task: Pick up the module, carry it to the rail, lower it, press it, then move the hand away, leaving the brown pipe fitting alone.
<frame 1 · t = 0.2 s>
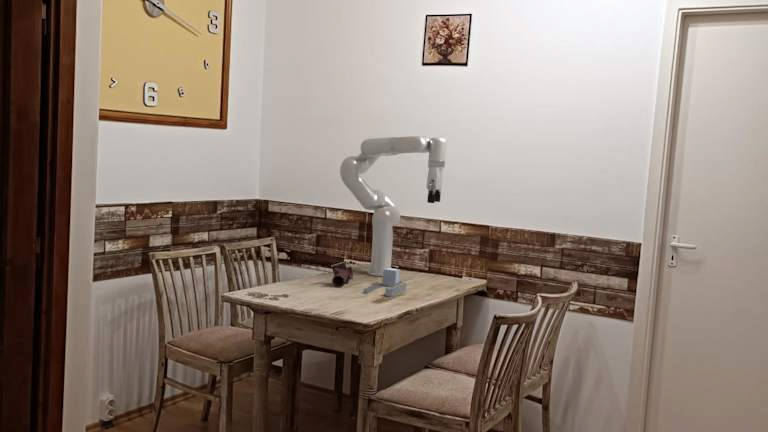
hand: (433, 202, 354), 36 cm above the table, tool pointing down, fingers open, 9 cm apart
module: (390, 285, 340), on the table
brown pipe fitting: (341, 284, 336), on the table
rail: (383, 291, 325), on the table
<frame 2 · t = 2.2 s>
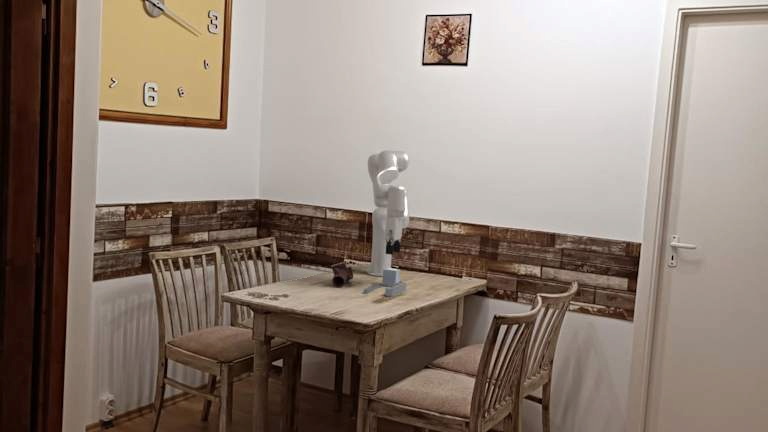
hand: (392, 253, 338), 14 cm above the table, tool pointing down, fingers open, 9 cm apart
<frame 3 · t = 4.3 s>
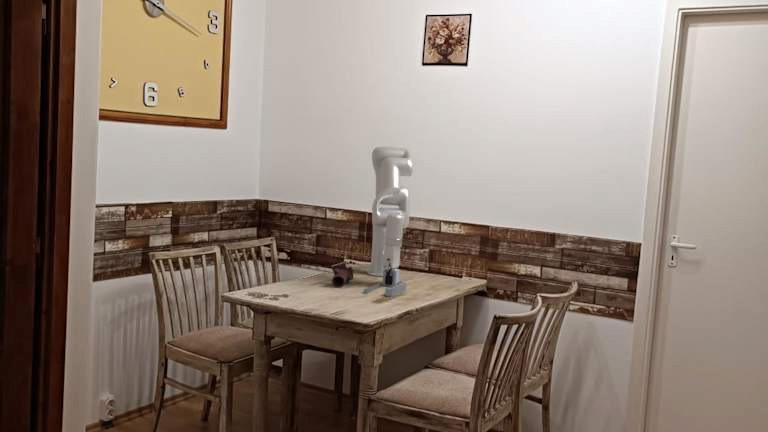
hand: (390, 282, 340), 1 cm above the table, tool pointing down, fingers closed on module, 5 cm apart
module: (390, 285, 340), on the table, touching gripper
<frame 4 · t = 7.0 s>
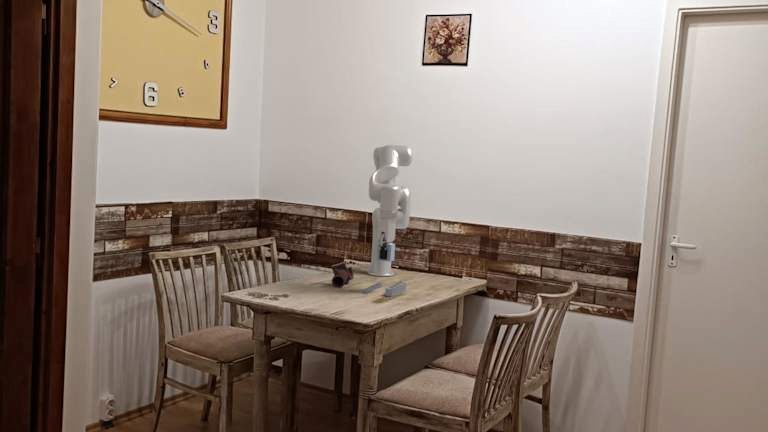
hand: (385, 257, 324), 14 cm above the table, tool pointing down, fingers closed on module, 5 cm apart
module: (385, 260, 324), point 13 cm above the table, touching gripper
when the fingers open (2 cm above the table, at t = 9.8 s): module drops 1 cm, on the table.
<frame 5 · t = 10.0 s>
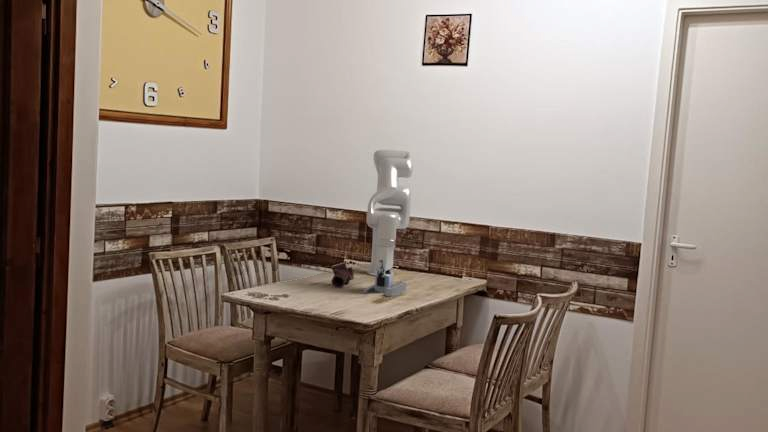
hand: (383, 284, 325), 3 cm above the table, tool pointing down, fingers open, 7 cm apart
module: (383, 291, 326), on the table
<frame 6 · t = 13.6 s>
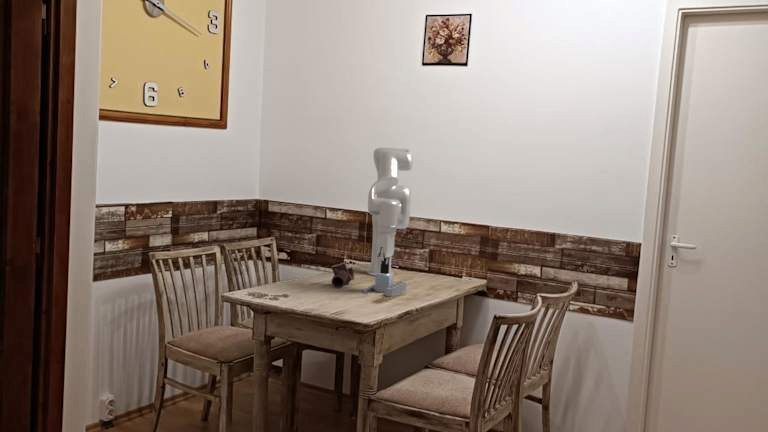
hand: (384, 273, 325), 8 cm above the table, tool pointing down, fingers closed
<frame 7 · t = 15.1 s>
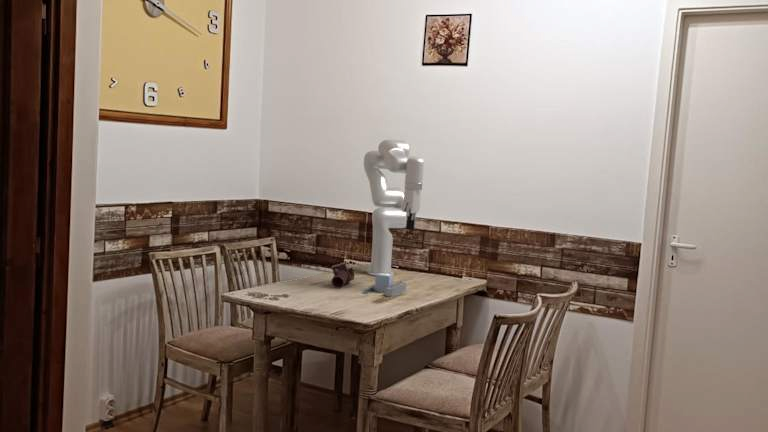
hand: (410, 228, 335), 26 cm above the table, tool pointing down, fingers closed
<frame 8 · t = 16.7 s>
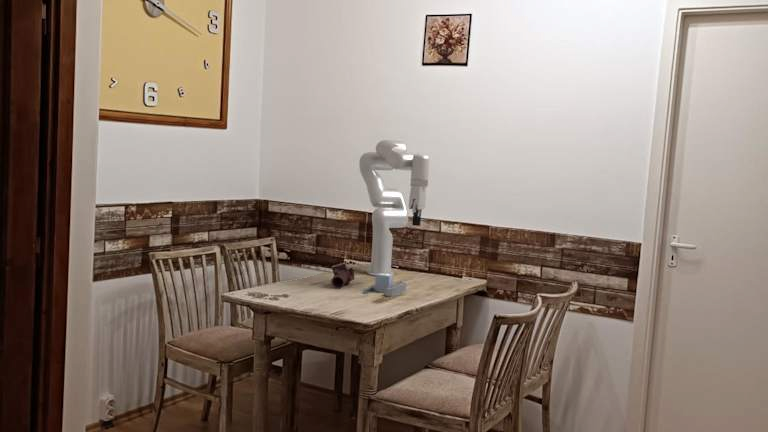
hand: (416, 225, 337), 27 cm above the table, tool pointing down, fingers closed
at the end: module inside the target area (0.1 cm from its centre), on the table; module tilted 0°; the gripper is holding nothing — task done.
